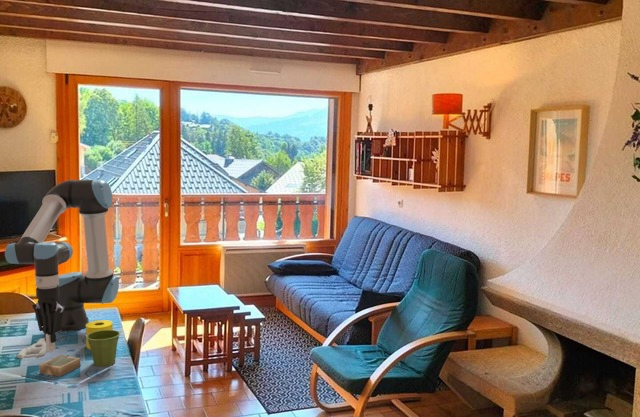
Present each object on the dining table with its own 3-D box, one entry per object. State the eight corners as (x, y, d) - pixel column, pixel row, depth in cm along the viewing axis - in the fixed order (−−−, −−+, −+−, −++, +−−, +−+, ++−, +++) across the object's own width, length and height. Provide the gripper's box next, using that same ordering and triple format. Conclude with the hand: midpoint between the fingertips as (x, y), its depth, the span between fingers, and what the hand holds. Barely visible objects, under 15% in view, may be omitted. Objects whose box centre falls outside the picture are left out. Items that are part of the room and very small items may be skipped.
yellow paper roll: (114, 341, 250) (113, 319, 248) (112, 350, 240) (111, 327, 239) (88, 343, 247) (87, 320, 246) (85, 352, 238) (84, 328, 236)
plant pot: (128, 360, 229) (127, 331, 228) (107, 372, 218) (106, 341, 217) (101, 356, 233) (100, 327, 232) (80, 367, 222) (78, 337, 221)
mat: (55, 360, 229) (55, 359, 229) (85, 365, 224) (85, 364, 224) (21, 376, 214) (21, 374, 214) (52, 382, 209) (52, 380, 209)
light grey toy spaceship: (29, 336, 245) (56, 335, 247) (30, 344, 246) (56, 343, 248) (14, 355, 228) (43, 354, 229) (15, 363, 228) (43, 362, 230)
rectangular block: (39, 364, 215) (59, 367, 212) (60, 354, 225) (80, 358, 221) (39, 372, 216) (59, 376, 212) (61, 362, 225) (80, 366, 222)
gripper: (24, 287, 215) (28, 351, 218) (53, 290, 211) (57, 356, 214) (41, 282, 222) (45, 345, 225) (69, 285, 218) (73, 349, 221)
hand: (51, 350), depth 220 cm, fingers closed
